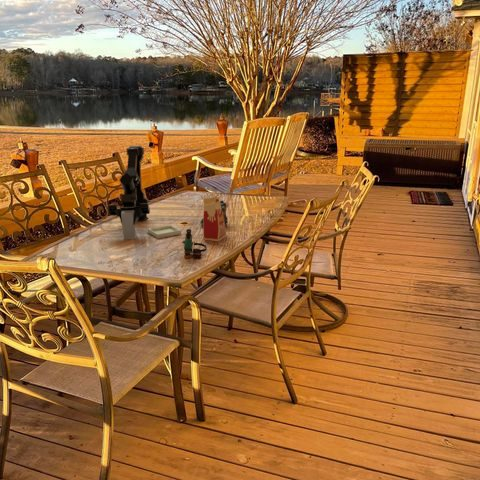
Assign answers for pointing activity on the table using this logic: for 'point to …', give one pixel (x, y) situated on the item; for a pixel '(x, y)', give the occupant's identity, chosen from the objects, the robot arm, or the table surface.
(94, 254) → the table surface
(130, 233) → the post
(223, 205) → the lucky cat figurine
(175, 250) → the butter knife
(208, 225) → the milk carton
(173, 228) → the tray
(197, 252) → the binoculars
